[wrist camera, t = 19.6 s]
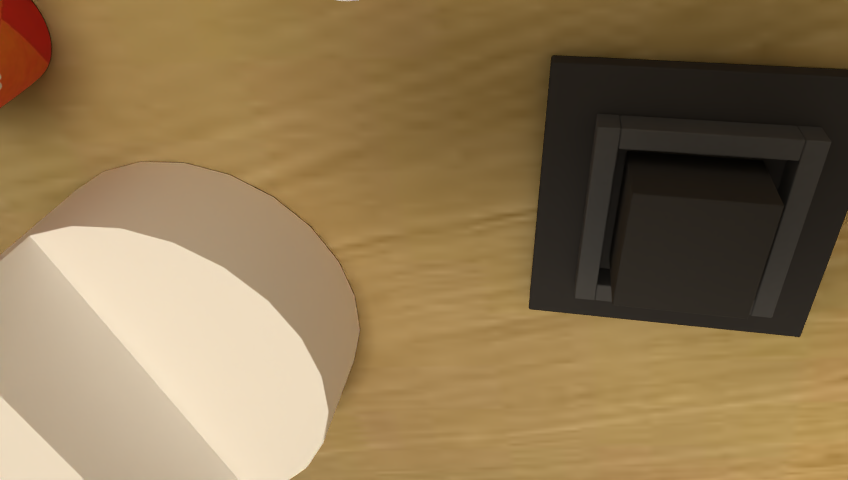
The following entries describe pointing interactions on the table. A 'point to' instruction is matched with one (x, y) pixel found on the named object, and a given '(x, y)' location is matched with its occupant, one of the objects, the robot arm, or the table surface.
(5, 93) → the coffee cup
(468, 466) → the table surface
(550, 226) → the base pad
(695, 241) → the black block
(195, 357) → the container
